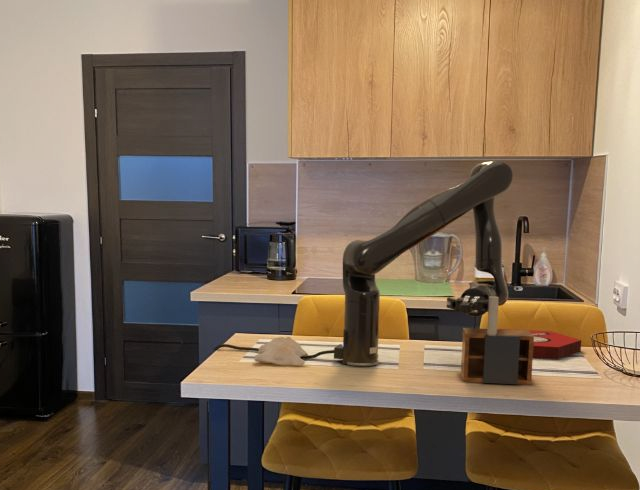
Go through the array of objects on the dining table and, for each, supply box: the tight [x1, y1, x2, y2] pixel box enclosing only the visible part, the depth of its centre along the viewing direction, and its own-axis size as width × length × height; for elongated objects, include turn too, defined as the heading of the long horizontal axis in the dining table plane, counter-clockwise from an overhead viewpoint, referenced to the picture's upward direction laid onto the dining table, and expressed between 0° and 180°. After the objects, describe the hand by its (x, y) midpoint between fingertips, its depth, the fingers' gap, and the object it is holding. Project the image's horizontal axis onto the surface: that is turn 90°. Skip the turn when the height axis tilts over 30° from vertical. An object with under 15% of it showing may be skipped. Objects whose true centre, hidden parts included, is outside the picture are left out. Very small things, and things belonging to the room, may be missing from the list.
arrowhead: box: [254, 336, 309, 367], centre depth 210 cm, size 14×5×30 cm
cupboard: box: [460, 327, 534, 386], centre depth 183 cm, size 16×8×12 cm, turn 81°
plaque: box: [504, 328, 582, 360], centre depth 221 cm, size 27×4×30 cm
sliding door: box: [482, 296, 520, 385], centre depth 177 cm, size 8×2×21 cm, turn 81°
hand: (465, 308), depth 175 cm, fingers closed
